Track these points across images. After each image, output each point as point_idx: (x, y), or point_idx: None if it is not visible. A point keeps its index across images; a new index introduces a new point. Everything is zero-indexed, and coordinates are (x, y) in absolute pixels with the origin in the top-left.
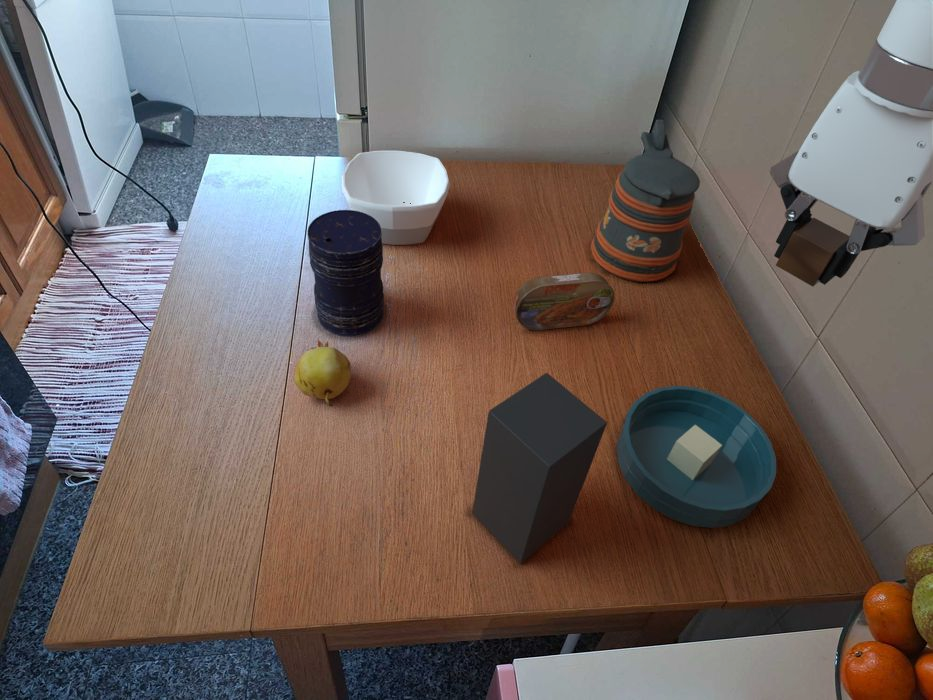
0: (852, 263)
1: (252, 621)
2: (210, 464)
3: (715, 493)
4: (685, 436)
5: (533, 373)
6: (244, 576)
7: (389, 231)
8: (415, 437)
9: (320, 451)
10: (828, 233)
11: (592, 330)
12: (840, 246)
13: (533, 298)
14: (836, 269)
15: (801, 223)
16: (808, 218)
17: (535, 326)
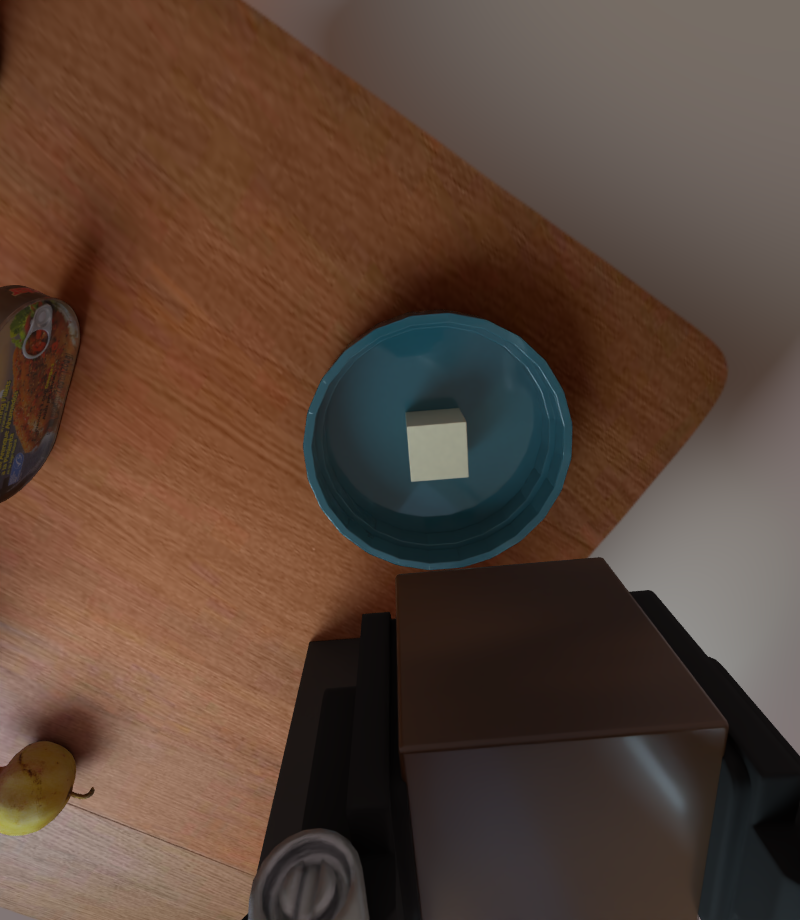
0: (746, 697)
1: None
2: (116, 876)
3: (498, 447)
4: (414, 461)
5: (150, 513)
6: None
7: None
8: (184, 708)
9: (151, 795)
10: (578, 818)
11: (97, 342)
12: (716, 909)
13: None
14: None
15: (409, 917)
16: (400, 843)
17: (45, 443)
